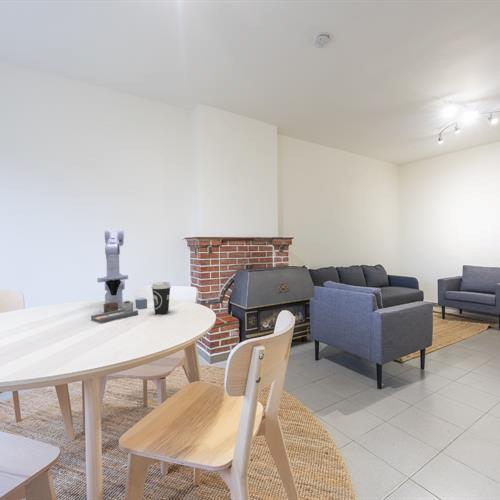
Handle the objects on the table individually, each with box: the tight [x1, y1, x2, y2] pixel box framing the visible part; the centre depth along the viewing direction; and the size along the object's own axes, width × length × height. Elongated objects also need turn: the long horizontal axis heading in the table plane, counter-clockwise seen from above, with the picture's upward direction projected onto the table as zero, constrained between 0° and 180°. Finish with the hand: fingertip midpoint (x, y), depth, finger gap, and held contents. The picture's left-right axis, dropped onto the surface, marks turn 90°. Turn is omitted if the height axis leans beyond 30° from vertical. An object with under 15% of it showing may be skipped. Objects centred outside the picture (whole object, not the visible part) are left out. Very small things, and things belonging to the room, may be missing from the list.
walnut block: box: [103, 302, 119, 313], centre depth 144 cm, size 4×4×5 cm
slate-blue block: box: [135, 297, 148, 310], centre depth 154 cm, size 4×4×5 cm
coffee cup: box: [150, 281, 172, 315], centre depth 143 cm, size 10×10×15 cm
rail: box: [90, 309, 139, 324], centre depth 135 cm, size 9×18×2 cm, turn 143°
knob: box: [120, 300, 134, 313], centre depth 140 cm, size 4×4×5 cm
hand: (113, 295), depth 141 cm, fingers closed
